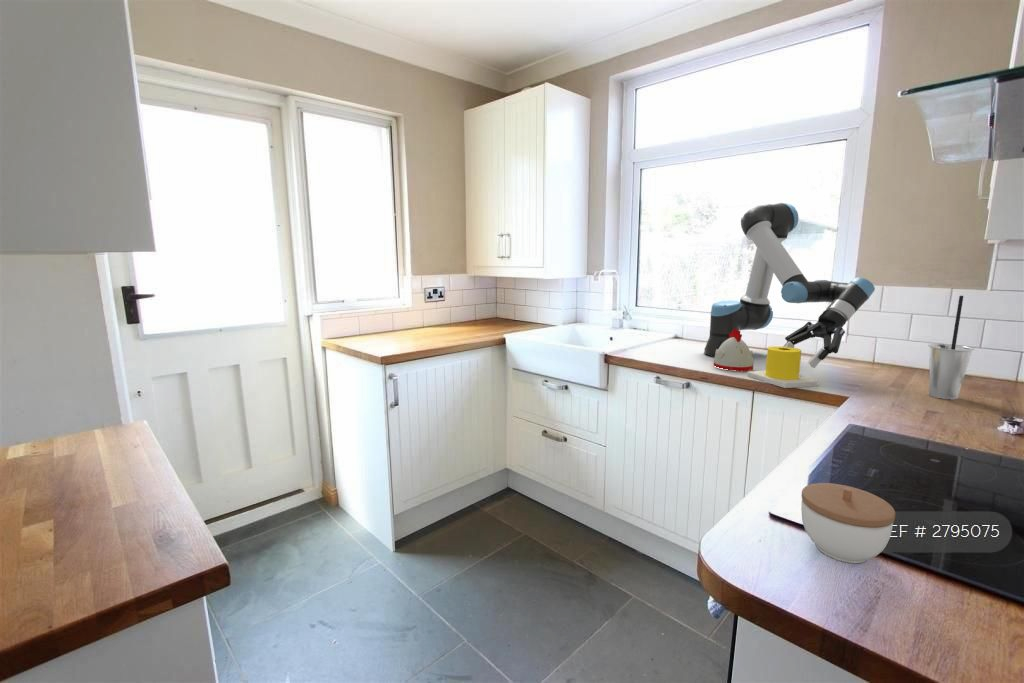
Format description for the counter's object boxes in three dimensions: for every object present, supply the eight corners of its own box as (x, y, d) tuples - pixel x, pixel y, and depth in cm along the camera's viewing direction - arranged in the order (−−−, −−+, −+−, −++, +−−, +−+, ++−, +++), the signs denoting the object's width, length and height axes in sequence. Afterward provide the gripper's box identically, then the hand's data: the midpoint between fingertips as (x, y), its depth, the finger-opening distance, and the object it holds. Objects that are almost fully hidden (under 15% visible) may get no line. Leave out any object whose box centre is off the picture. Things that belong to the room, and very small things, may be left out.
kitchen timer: (723, 371, 175) (726, 332, 173) (707, 363, 189) (709, 326, 186) (760, 371, 176) (763, 331, 173) (741, 363, 189) (744, 326, 187)
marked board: (747, 375, 168) (747, 371, 168) (778, 373, 171) (778, 369, 171) (784, 388, 152) (784, 383, 152) (817, 385, 155) (818, 380, 154)
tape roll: (803, 380, 155) (805, 352, 154) (769, 378, 158) (772, 351, 156) (793, 373, 165) (795, 347, 163) (762, 372, 167) (764, 346, 166)
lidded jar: (788, 524, 74) (794, 468, 72) (868, 535, 71) (876, 477, 69) (809, 566, 64) (816, 502, 62) (904, 581, 61) (914, 514, 59)
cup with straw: (947, 391, 147) (961, 295, 141) (978, 402, 135) (996, 298, 130) (909, 390, 148) (923, 295, 143) (938, 401, 137) (953, 298, 131)
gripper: (875, 328, 150) (831, 376, 150) (811, 319, 174) (773, 360, 174) (864, 312, 148) (819, 361, 148) (800, 305, 172) (762, 347, 172)
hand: (794, 361), depth 161 cm, fingers open, 13 cm apart
